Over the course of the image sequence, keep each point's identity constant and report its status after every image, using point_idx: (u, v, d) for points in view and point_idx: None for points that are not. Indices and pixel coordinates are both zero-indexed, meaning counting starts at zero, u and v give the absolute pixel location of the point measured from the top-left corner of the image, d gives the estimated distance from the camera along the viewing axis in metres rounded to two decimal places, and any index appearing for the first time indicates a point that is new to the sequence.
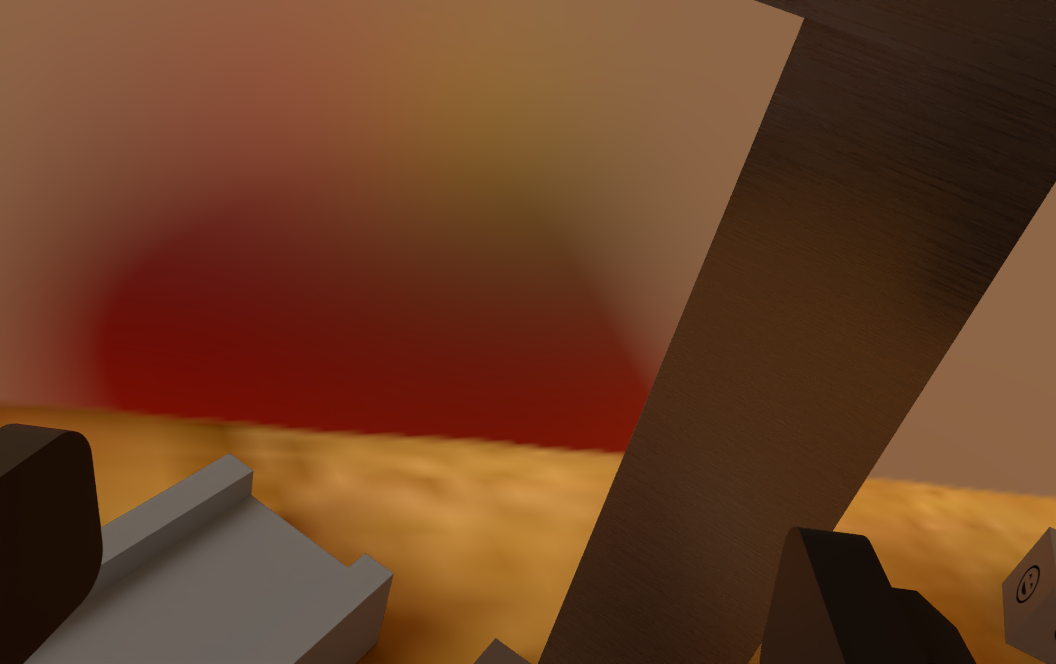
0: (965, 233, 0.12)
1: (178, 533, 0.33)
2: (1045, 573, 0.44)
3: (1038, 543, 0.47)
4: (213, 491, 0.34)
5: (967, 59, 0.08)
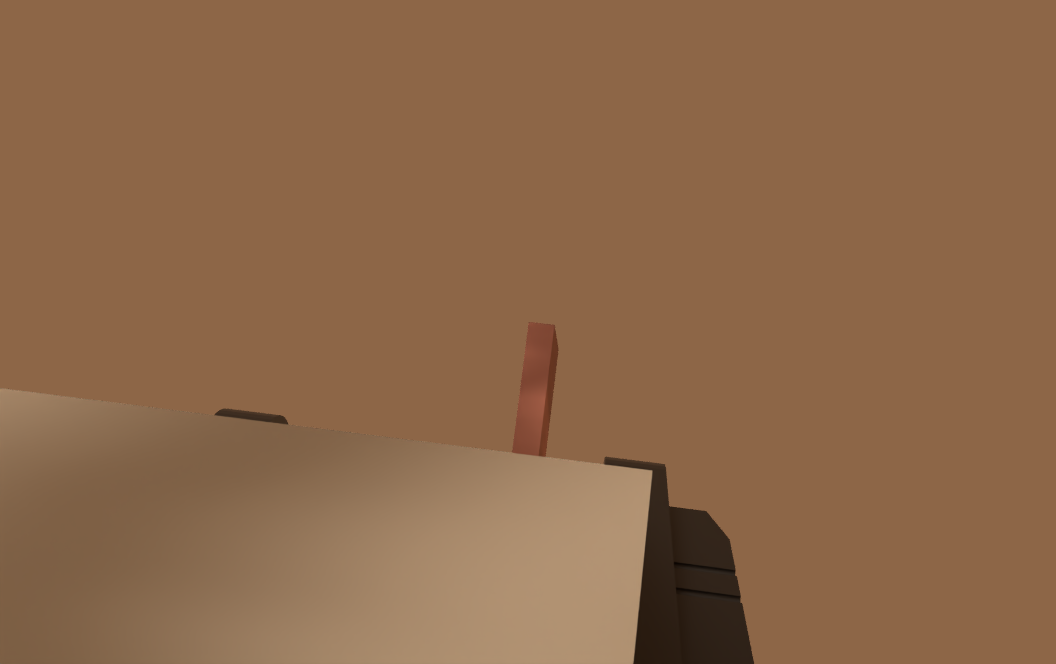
0: None
1: None
2: None
3: None
4: None
5: None
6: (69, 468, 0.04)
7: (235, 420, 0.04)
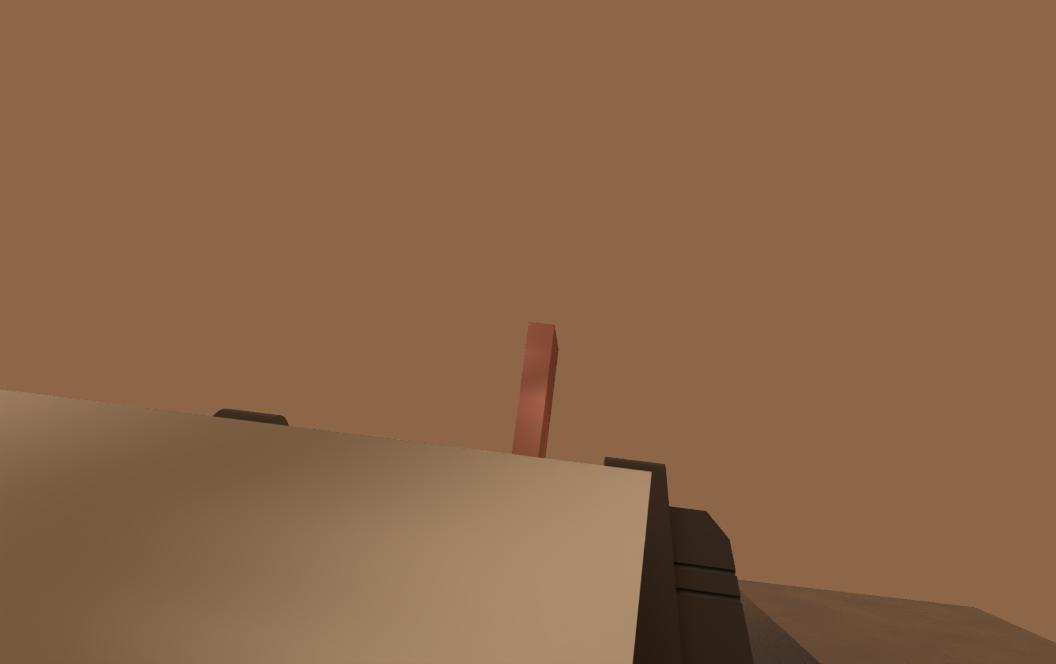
0: None
1: None
2: None
3: None
4: None
5: None
6: (65, 469, 0.04)
7: (232, 421, 0.04)
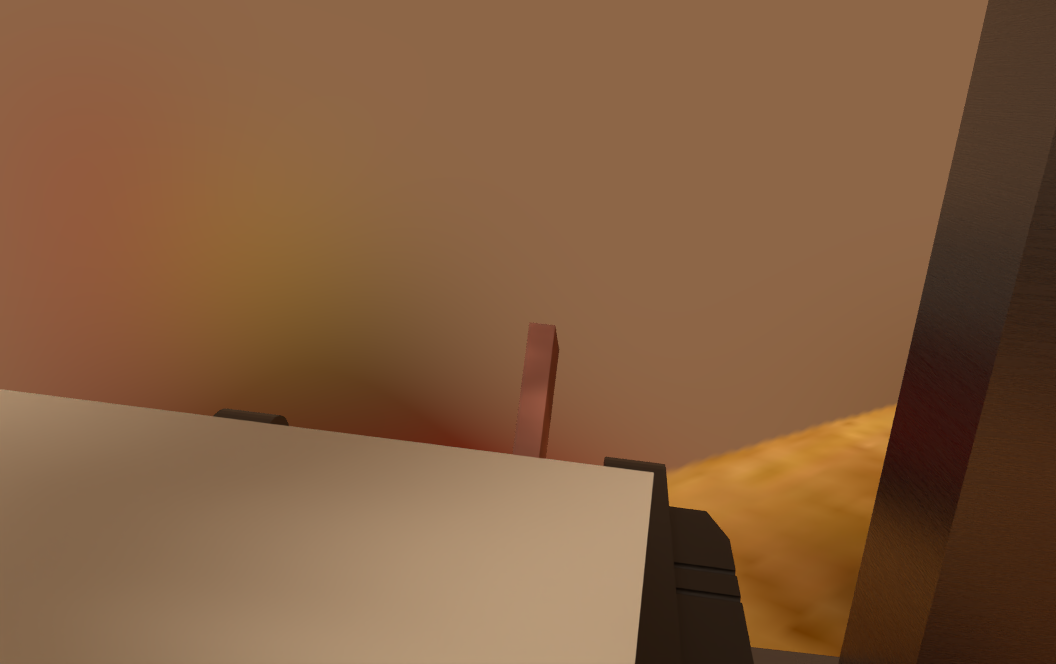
0: None
1: None
2: None
3: None
4: None
5: None
6: (70, 469, 0.04)
7: (236, 421, 0.04)
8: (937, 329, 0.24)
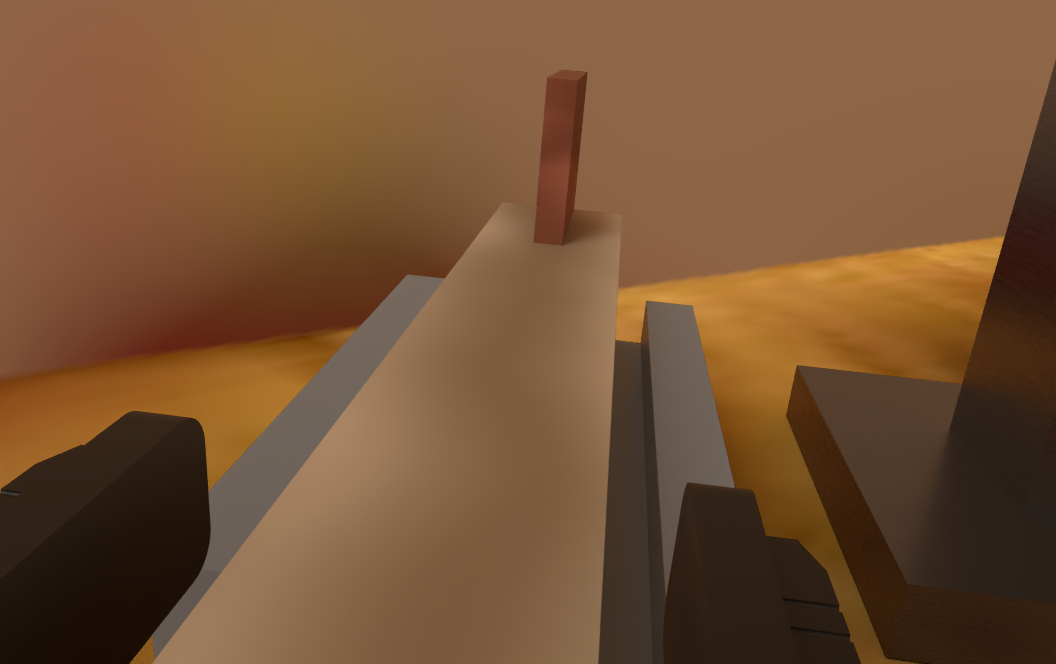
0: None
1: None
2: None
3: None
4: None
5: None
6: None
7: None
8: None
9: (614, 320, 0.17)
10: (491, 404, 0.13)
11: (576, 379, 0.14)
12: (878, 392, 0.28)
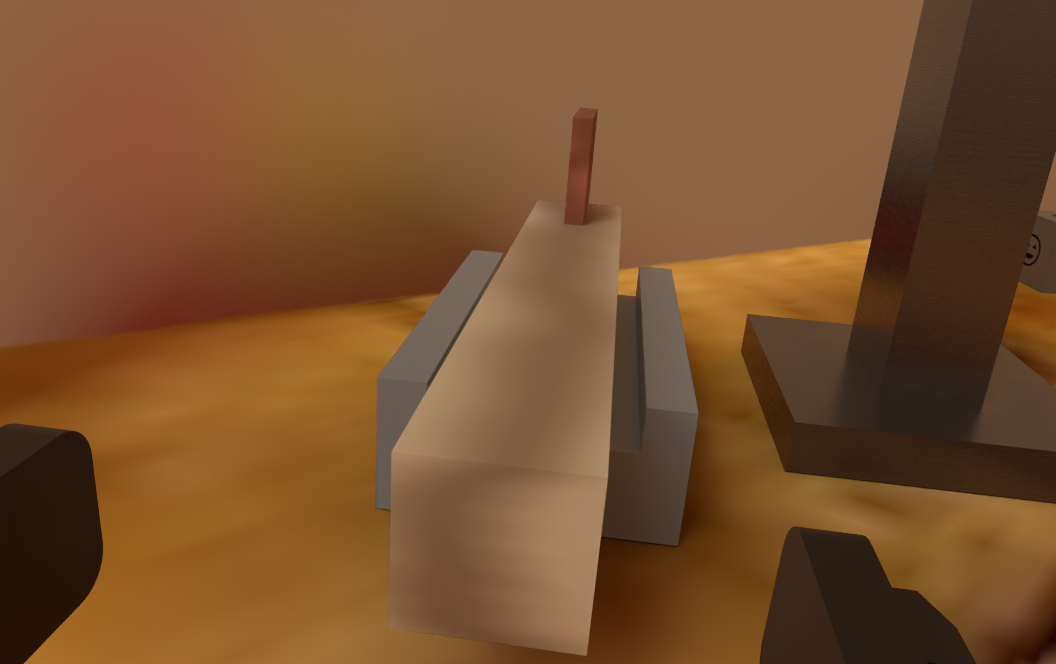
0: None
1: None
2: (1042, 230, 0.58)
3: None
4: (494, 263, 0.37)
5: None
6: (454, 475, 0.15)
7: (497, 464, 0.15)
8: None
9: (617, 264, 0.29)
10: (554, 297, 0.25)
11: (598, 289, 0.26)
12: (802, 330, 0.39)
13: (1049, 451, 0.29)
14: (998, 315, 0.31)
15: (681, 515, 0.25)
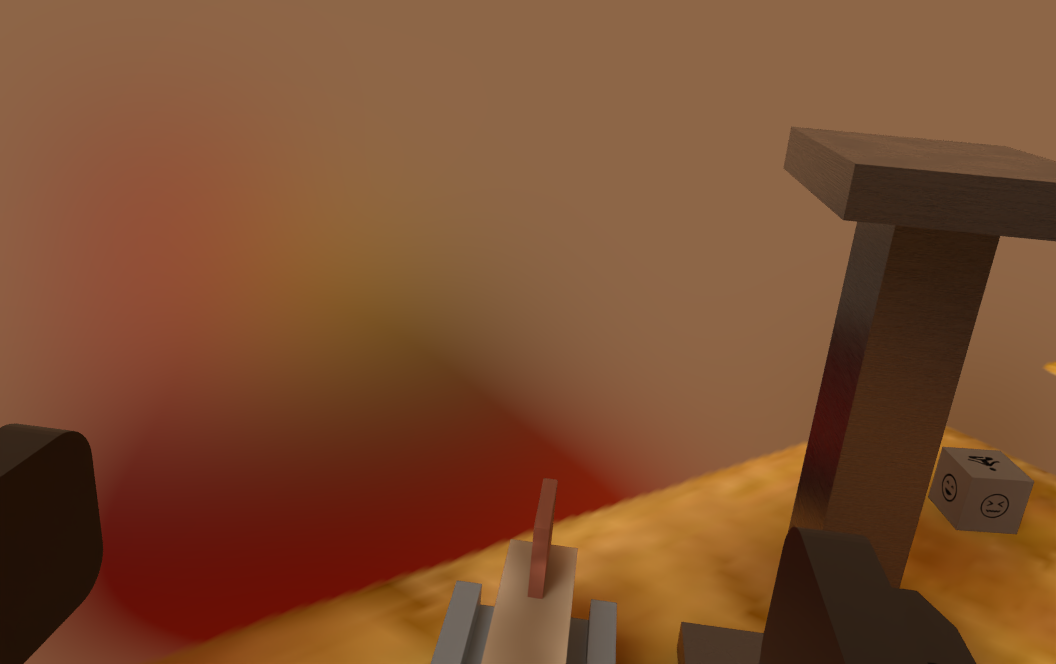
0: (971, 276, 0.33)
1: (469, 641, 0.45)
2: (958, 475, 0.67)
3: (940, 460, 0.70)
4: (473, 605, 0.47)
5: (1002, 231, 0.29)
6: None
7: None
8: (816, 449, 0.40)
9: None
10: None
11: None
12: (723, 646, 0.49)
13: None
14: None
15: None
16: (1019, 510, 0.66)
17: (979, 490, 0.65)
